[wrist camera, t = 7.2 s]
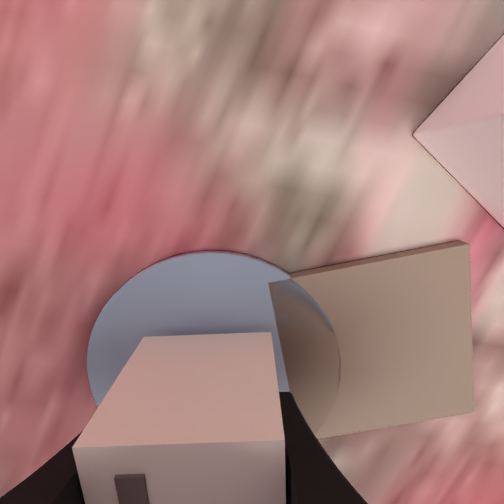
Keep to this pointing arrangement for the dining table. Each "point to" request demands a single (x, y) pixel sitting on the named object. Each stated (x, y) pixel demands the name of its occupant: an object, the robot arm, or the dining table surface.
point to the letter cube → (188, 425)
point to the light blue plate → (189, 309)
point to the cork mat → (380, 340)
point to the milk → (473, 132)
